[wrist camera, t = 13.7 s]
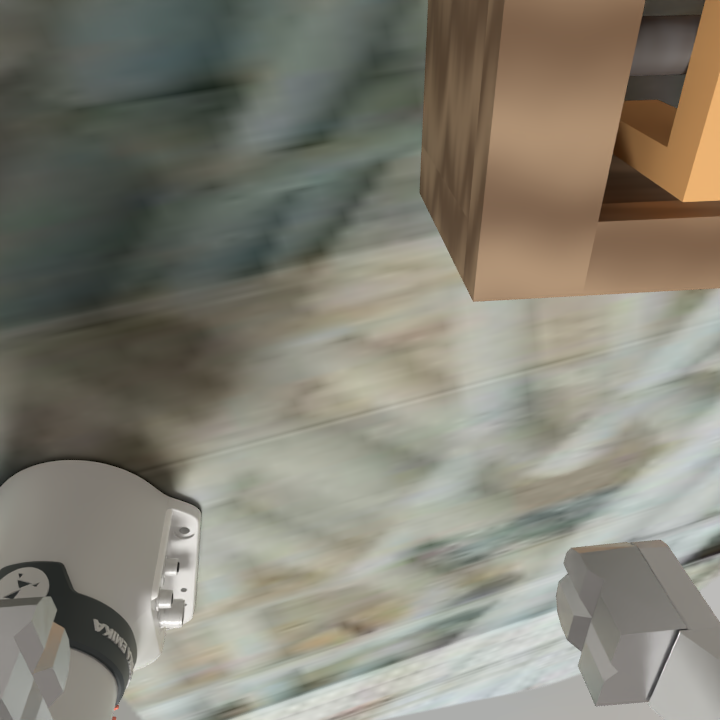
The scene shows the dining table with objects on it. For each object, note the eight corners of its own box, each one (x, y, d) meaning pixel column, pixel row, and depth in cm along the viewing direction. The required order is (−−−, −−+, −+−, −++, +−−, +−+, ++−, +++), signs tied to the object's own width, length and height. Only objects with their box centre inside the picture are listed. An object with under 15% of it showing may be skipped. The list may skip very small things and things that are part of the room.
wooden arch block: (650, 130, 33) (772, 198, 24) (582, 132, 32) (682, 202, 24) (708, -111, 27) (892, -129, 19) (627, -110, 27) (777, -128, 19)
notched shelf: (656, 183, 41) (806, 287, 29) (419, 193, 40) (475, 306, 28) (765, -240, 29) (1085, -351, 18) (438, -242, 28) (546, -363, 17)
